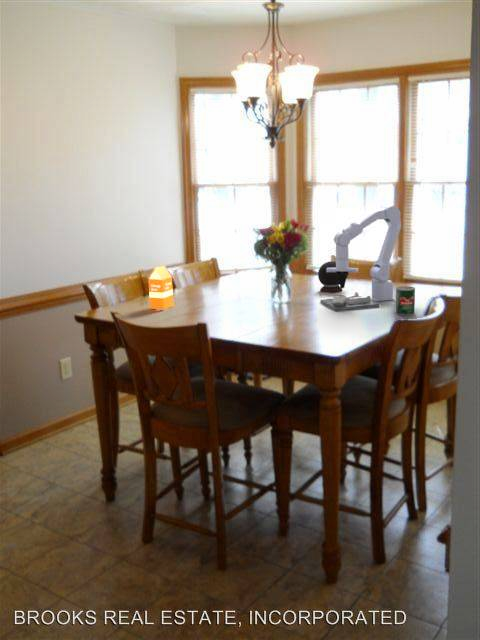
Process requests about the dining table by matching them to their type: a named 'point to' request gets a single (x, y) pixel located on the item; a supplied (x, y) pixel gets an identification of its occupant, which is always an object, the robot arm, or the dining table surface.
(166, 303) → the orange juice
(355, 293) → the leg
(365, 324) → the dining table surface
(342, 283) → the robot arm
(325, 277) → the black ball on base
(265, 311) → the dining table surface
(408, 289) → the canned tomato
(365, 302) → the bolt plate
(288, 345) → the dining table surface
